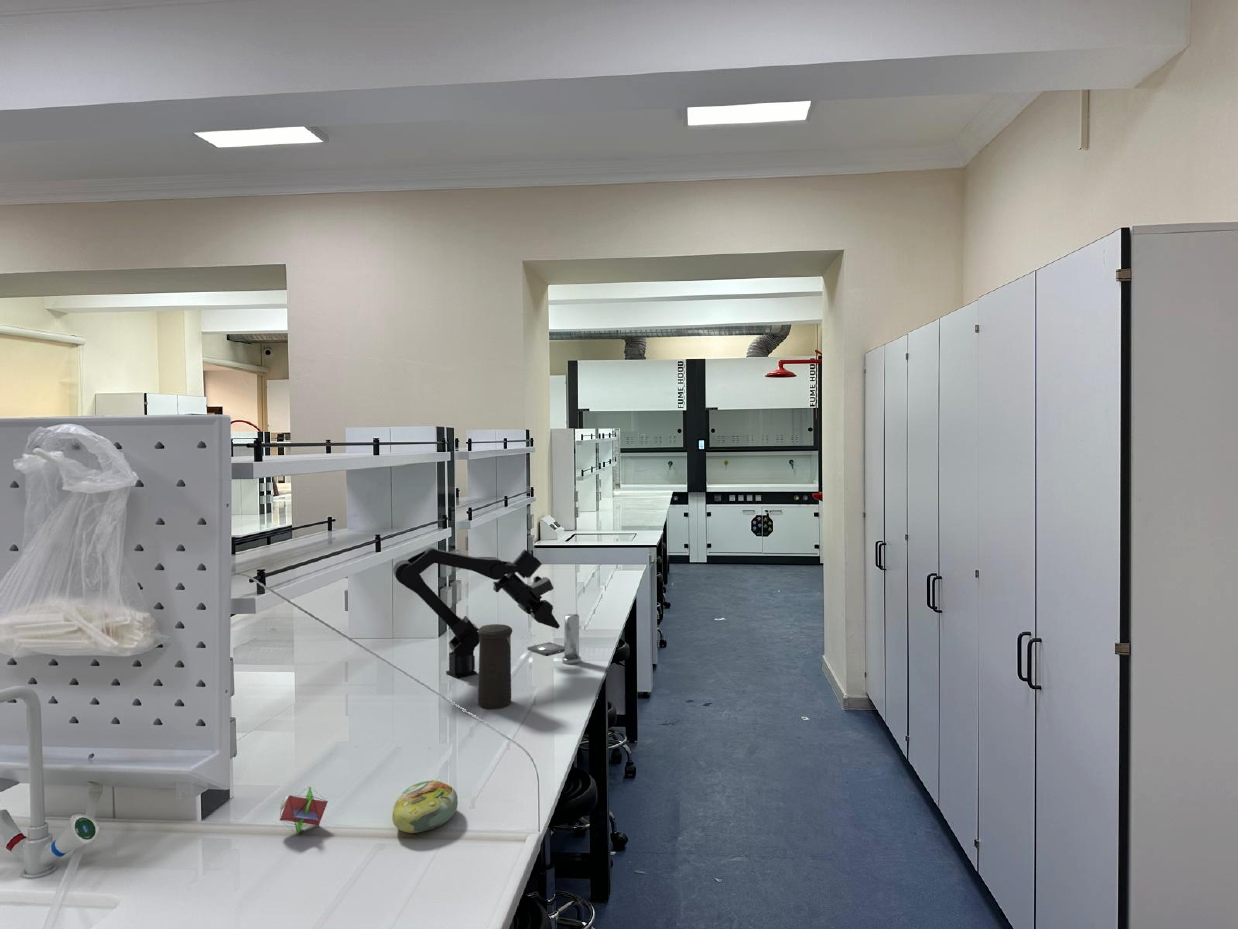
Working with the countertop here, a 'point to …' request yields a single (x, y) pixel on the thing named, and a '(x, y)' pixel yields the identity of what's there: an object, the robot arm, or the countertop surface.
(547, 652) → the base plate
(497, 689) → the container
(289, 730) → the countertop surface
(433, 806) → the cell model
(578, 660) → the sleeve
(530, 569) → the robot arm
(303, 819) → the geometric puzzle
